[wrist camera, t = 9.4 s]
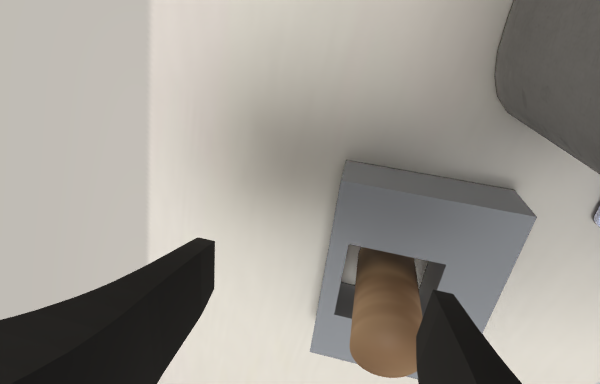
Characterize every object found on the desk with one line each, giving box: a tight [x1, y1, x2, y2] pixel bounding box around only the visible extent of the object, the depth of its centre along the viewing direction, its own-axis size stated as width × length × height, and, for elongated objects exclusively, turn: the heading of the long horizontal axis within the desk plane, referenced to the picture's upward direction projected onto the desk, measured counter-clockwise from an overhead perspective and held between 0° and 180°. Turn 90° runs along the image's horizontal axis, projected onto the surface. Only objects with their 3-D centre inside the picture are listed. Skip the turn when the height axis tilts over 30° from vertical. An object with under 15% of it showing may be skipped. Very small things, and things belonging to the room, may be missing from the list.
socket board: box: [310, 160, 537, 379], centre depth 21 cm, size 9×12×3 cm
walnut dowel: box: [350, 247, 423, 378], centre depth 19 cm, size 3×3×7 cm
